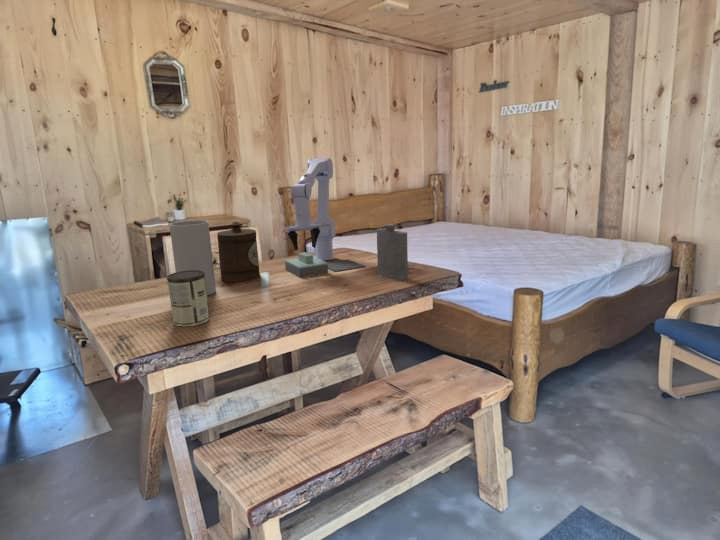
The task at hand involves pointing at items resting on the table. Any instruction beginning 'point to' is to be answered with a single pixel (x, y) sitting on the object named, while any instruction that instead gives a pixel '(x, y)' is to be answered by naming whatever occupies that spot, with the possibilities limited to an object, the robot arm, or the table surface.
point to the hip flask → (392, 253)
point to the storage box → (306, 270)
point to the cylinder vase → (193, 249)
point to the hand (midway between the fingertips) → (305, 248)
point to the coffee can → (188, 298)
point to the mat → (343, 265)
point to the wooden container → (238, 254)
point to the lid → (305, 261)
